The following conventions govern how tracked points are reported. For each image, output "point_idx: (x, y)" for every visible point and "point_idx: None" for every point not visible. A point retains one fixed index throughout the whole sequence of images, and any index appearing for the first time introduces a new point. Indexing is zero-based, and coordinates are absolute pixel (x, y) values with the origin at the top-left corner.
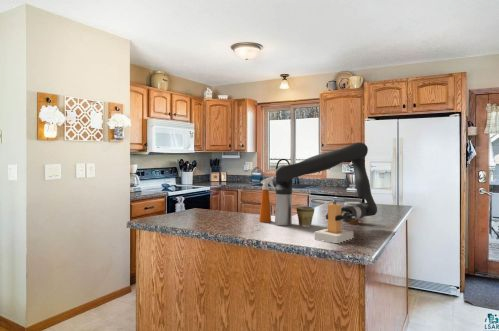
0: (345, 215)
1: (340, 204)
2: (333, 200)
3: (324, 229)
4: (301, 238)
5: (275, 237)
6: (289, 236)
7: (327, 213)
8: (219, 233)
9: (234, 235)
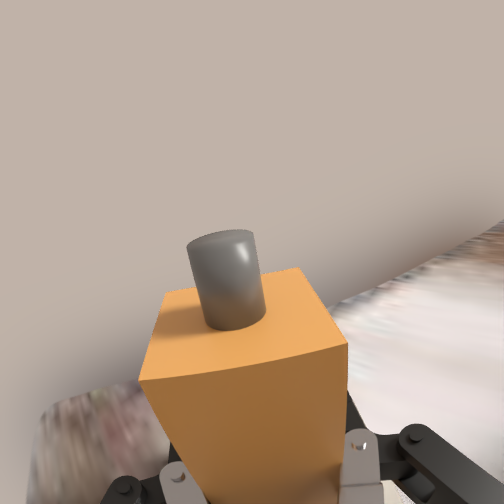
0: (127, 476)
1: (145, 364)
2: (225, 235)
3: (388, 486)
4: (392, 383)
5: (434, 315)
6: (442, 354)
7: (414, 429)
8: (487, 241)
9: (467, 254)
